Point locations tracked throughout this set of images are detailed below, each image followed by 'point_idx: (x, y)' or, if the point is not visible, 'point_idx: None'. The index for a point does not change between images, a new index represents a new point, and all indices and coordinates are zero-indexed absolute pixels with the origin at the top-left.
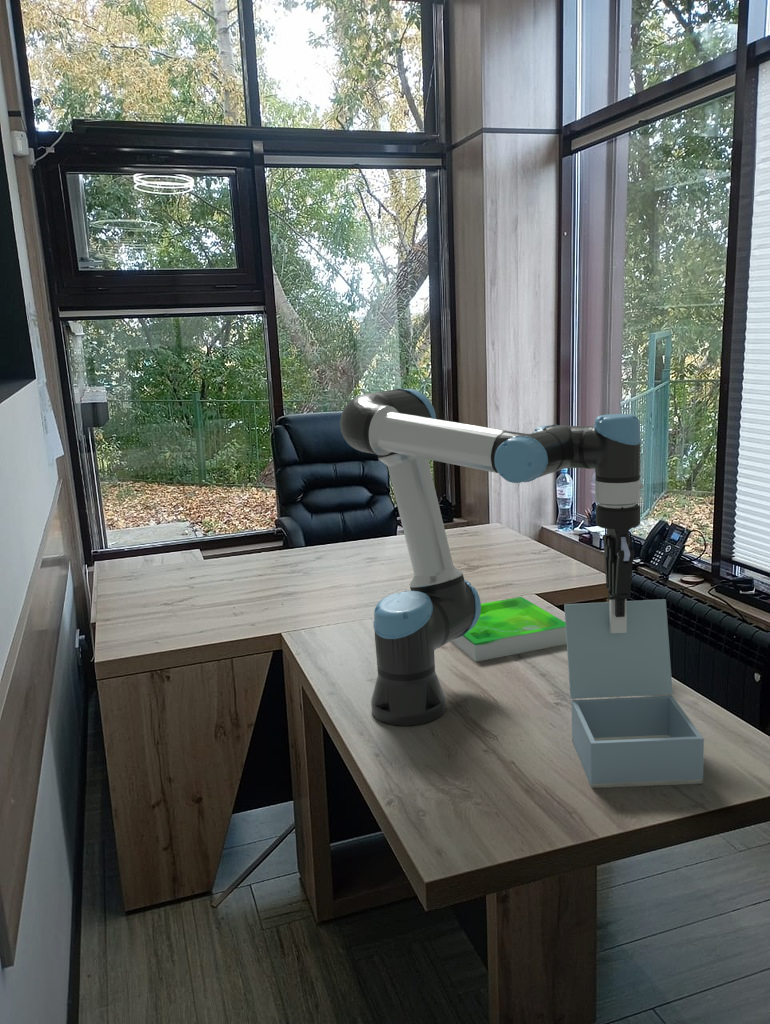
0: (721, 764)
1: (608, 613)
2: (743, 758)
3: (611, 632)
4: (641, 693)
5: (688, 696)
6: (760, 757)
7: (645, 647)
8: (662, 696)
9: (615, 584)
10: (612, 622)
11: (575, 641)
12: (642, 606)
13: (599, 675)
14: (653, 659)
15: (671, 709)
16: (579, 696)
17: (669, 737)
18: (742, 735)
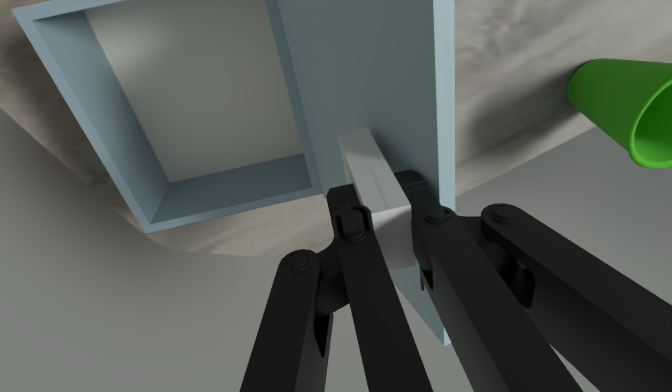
0: (236, 213)
1: (409, 151)
2: (261, 239)
3: (338, 136)
4: (311, 140)
5: (461, 186)
6: (268, 256)
7: None
8: (318, 176)
9: (301, 321)
10: (345, 158)
11: None
12: None
13: (305, 51)
14: None
15: (295, 182)
16: None
17: (297, 152)
18: (330, 243)
